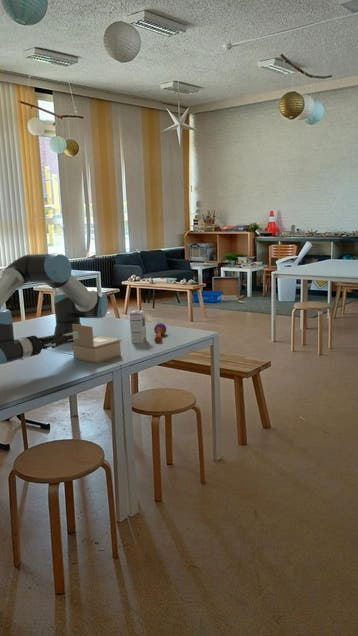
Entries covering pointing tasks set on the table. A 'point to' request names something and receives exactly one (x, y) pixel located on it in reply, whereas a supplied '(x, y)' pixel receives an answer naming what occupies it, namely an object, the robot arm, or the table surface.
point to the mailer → (97, 353)
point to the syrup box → (137, 326)
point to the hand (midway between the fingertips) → (76, 334)
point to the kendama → (159, 332)
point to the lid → (90, 337)
